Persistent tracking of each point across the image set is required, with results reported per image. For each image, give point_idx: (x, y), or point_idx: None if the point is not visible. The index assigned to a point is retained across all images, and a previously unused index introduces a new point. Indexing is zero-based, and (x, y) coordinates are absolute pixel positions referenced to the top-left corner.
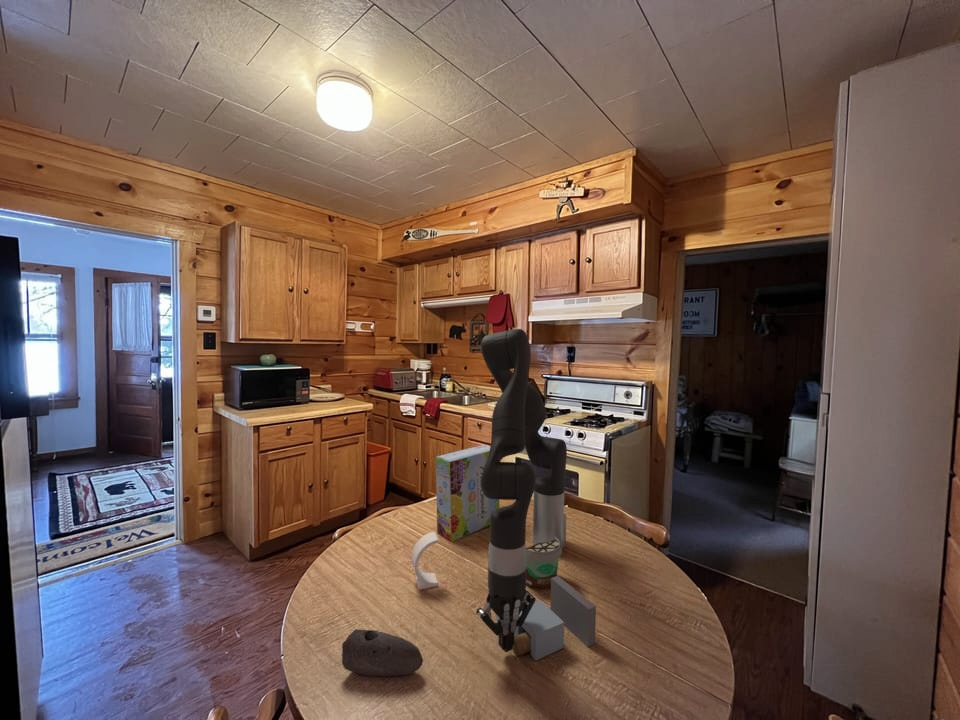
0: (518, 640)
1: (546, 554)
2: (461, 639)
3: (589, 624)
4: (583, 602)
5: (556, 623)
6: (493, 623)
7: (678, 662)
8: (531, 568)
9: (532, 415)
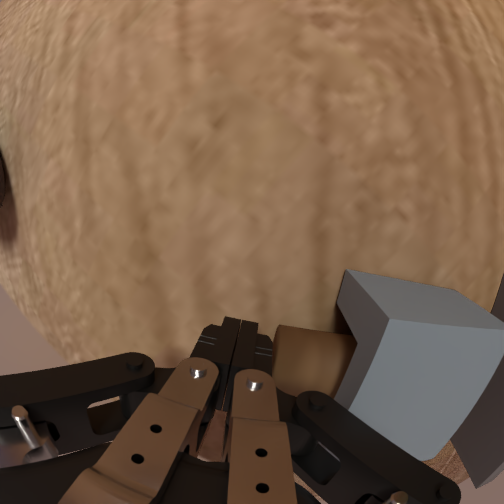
0: (278, 388)
1: None
2: (149, 141)
3: (462, 456)
4: (501, 466)
5: (415, 457)
6: (84, 444)
7: (459, 468)
8: None
9: None
